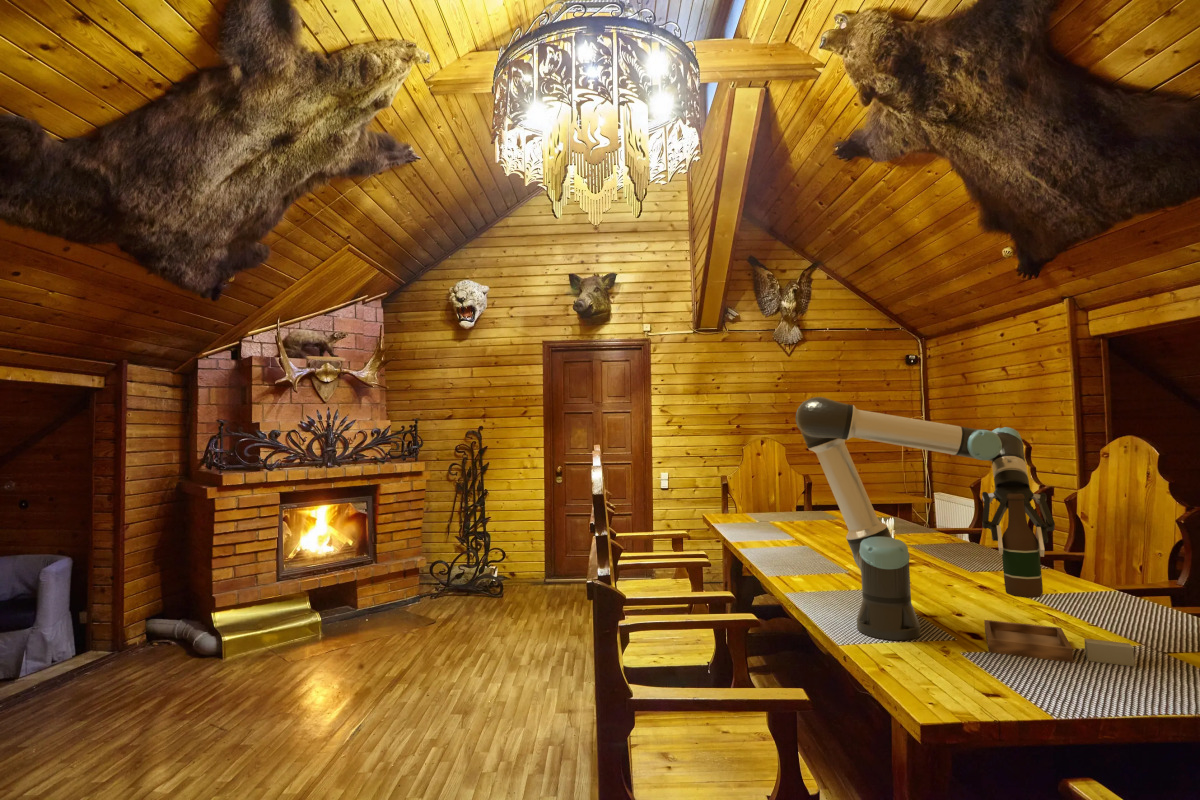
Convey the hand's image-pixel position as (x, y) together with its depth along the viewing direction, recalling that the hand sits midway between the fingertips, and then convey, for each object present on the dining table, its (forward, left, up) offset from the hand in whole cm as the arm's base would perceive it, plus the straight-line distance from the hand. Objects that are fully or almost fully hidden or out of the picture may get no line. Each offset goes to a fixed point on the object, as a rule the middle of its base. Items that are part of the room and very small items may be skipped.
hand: (1021, 552), depth 146 cm
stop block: (+15, -1, -23) cm, 27 cm away
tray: (0, +3, -23) cm, 23 cm away
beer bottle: (0, +4, -11) cm, 11 cm away
